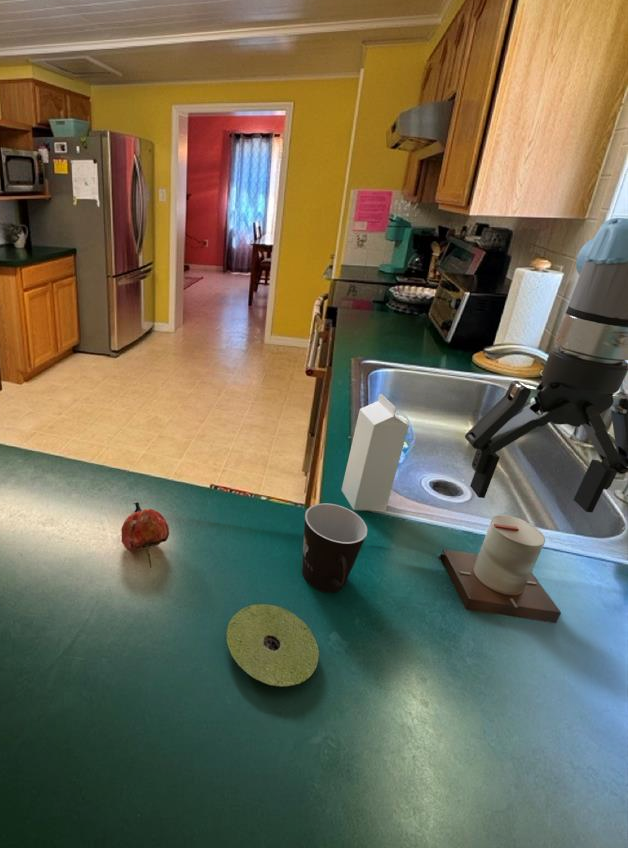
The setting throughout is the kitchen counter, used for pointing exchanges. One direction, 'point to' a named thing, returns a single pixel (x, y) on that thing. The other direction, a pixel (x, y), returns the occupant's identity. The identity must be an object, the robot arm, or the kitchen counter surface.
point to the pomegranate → (144, 530)
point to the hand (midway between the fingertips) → (529, 499)
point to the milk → (374, 456)
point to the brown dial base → (485, 599)
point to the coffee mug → (331, 545)
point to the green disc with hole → (272, 645)
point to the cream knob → (508, 554)
